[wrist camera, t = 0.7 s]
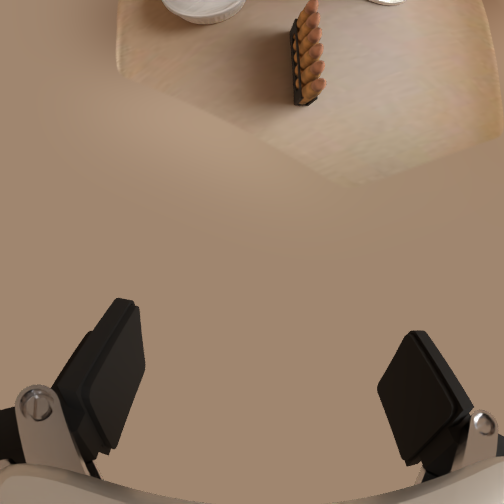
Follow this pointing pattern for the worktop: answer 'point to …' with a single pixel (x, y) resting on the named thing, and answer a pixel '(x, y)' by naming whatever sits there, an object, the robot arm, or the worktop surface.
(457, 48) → the worktop surface
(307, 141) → the worktop surface
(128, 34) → the worktop surface
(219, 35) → the worktop surface
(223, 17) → the ramekin
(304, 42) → the ammunition clip
